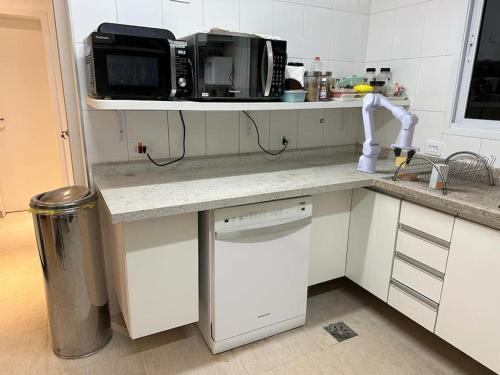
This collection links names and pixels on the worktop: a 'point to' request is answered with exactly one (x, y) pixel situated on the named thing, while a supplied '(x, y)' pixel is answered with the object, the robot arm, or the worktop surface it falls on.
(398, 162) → the block
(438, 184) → the skincare box
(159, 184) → the worktop surface
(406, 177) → the trivet
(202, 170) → the worktop surface
